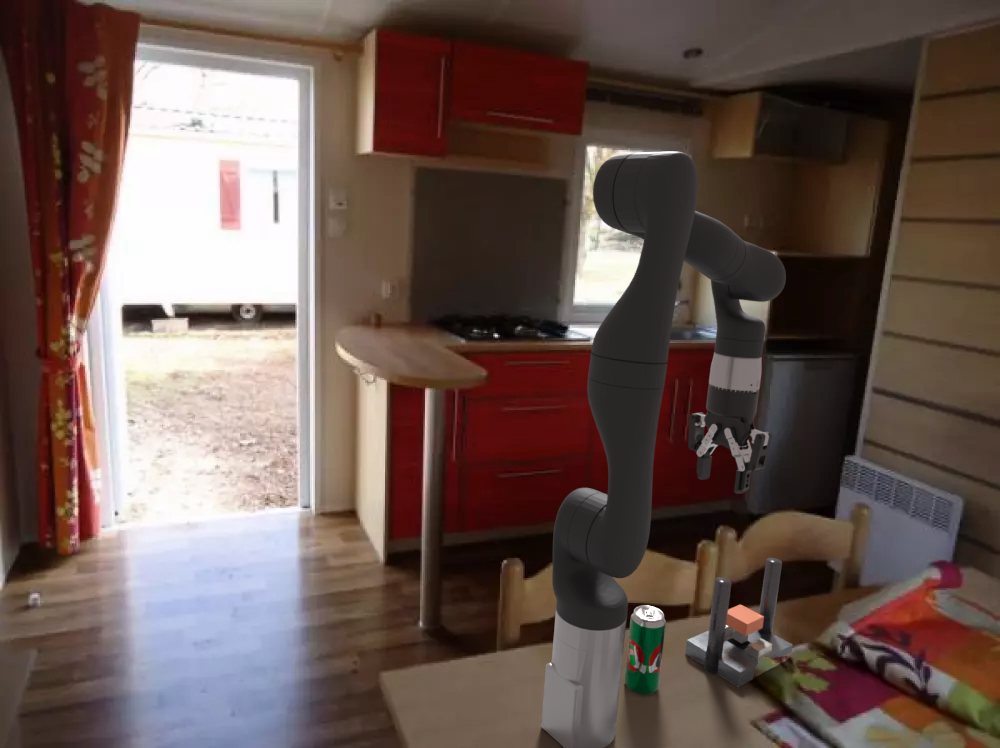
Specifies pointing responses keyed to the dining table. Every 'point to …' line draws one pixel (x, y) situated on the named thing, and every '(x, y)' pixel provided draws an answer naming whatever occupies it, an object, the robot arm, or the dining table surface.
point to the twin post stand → (718, 641)
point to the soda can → (645, 650)
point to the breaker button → (743, 622)
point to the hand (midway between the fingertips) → (721, 485)
